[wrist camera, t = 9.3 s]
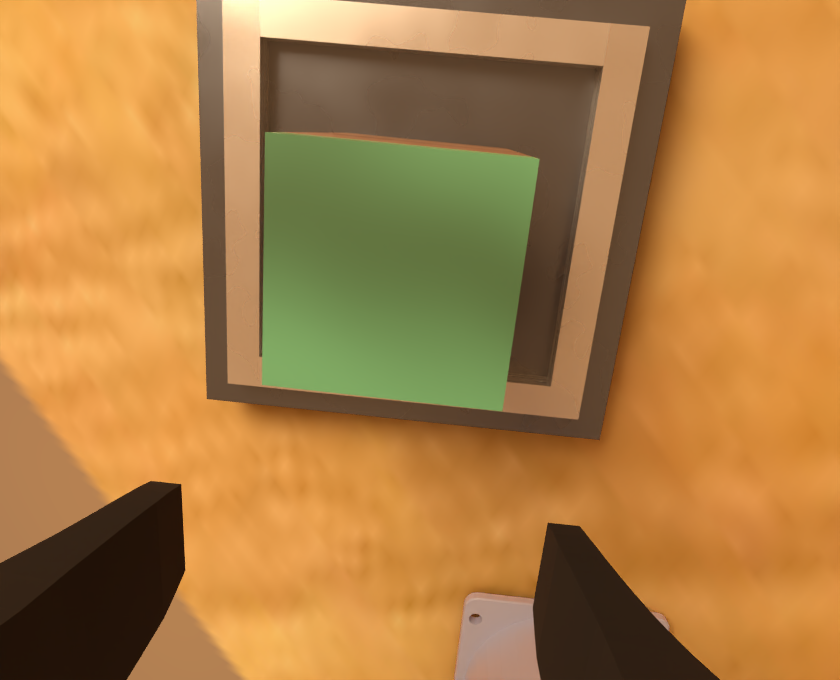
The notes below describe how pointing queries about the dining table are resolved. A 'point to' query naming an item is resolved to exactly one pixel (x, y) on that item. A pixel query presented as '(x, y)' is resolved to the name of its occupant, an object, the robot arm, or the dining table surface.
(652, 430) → the dining table surface
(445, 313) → the brown and green block
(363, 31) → the gray square tray
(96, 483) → the dining table surface
